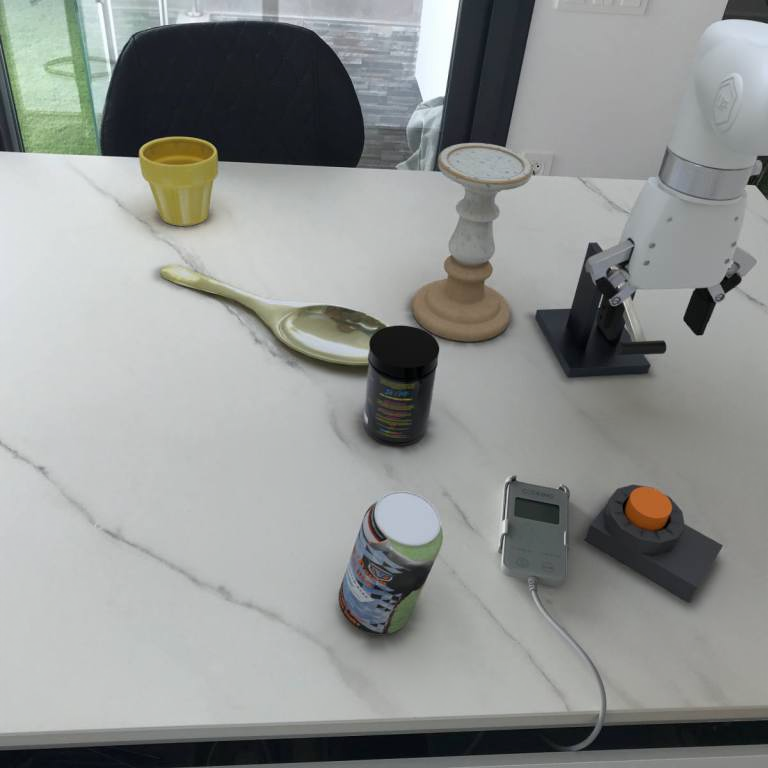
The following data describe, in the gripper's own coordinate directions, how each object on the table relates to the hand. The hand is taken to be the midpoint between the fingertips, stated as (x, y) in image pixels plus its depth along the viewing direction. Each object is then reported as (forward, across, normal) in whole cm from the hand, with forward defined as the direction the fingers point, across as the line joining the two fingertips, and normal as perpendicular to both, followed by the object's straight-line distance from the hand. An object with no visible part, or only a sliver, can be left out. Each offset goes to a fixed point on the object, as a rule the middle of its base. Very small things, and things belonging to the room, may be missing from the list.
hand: (649, 329), depth 80 cm
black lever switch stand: (+10, 0, -11) cm, 14 cm away
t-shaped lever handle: (+2, 0, -6) cm, 6 cm away
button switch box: (+10, +6, +20) cm, 23 cm away
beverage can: (+10, +31, +23) cm, 40 cm away
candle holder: (+10, +14, -18) cm, 25 cm away
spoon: (+10, +38, -19) cm, 43 cm away
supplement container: (+10, +26, +2) cm, 28 cm away
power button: (+6, +7, +19) cm, 21 cm away
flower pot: (+9, +49, -45) cm, 67 cm away
